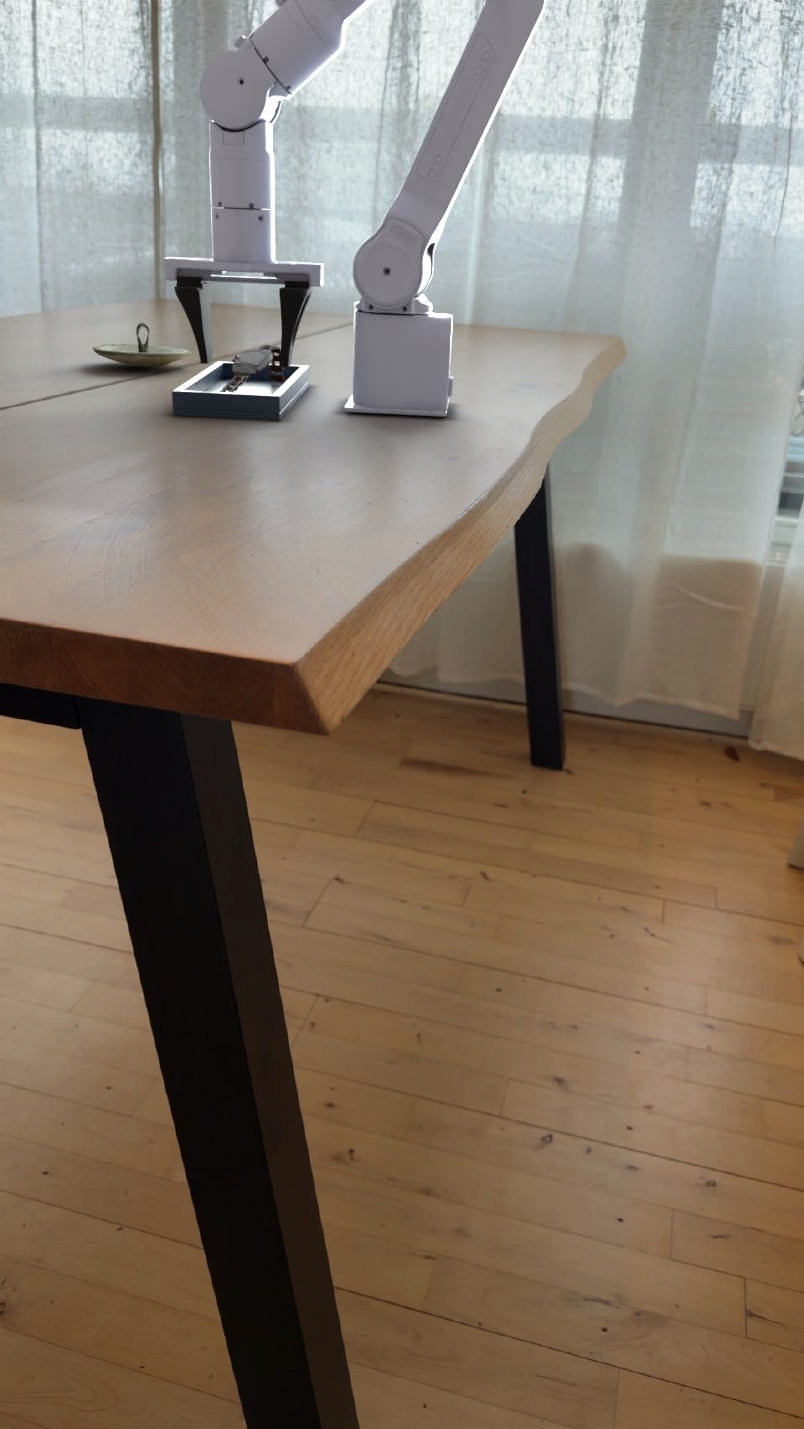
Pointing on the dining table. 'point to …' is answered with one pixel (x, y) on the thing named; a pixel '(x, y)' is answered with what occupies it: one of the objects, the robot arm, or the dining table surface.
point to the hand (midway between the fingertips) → (246, 364)
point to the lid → (141, 352)
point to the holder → (240, 393)
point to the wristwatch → (255, 366)
